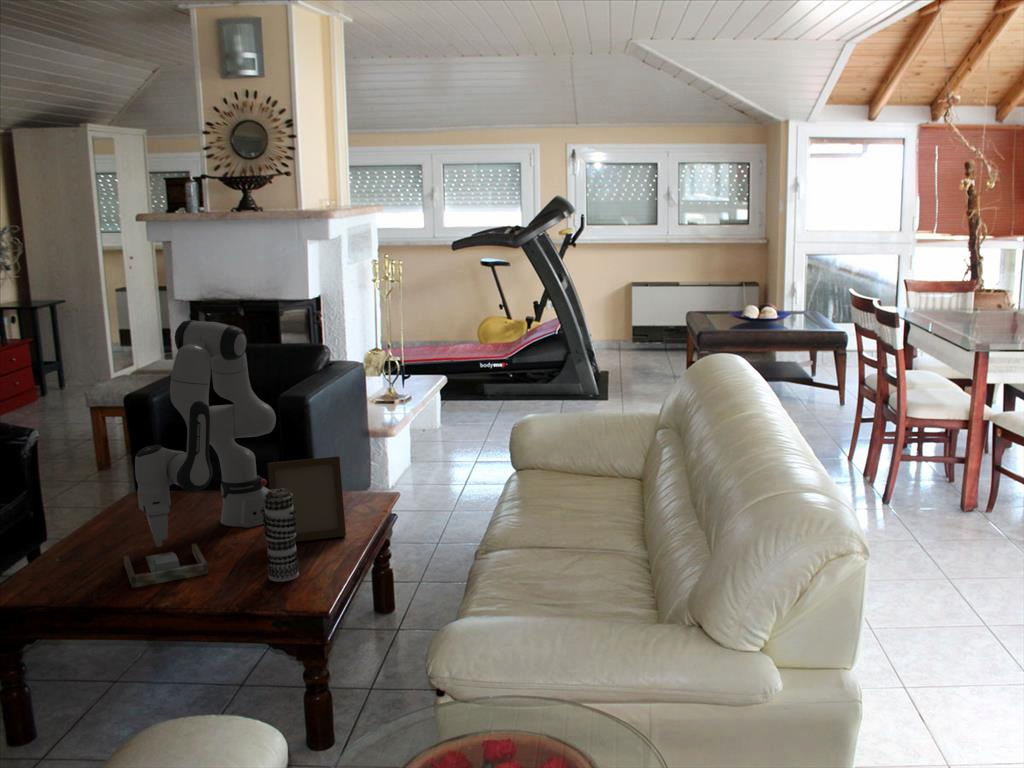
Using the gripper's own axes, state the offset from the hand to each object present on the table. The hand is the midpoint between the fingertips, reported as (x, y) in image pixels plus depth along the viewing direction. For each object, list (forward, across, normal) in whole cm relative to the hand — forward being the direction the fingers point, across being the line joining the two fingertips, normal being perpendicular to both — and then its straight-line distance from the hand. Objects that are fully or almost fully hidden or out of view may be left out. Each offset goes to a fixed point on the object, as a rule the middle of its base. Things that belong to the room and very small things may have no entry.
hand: (159, 545), depth 294 cm
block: (+4, +13, 0) cm, 13 cm away
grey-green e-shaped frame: (+4, +8, 0) cm, 9 cm away
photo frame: (+5, +2, +44) cm, 44 cm away
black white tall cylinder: (+4, +31, +30) cm, 43 cm away
